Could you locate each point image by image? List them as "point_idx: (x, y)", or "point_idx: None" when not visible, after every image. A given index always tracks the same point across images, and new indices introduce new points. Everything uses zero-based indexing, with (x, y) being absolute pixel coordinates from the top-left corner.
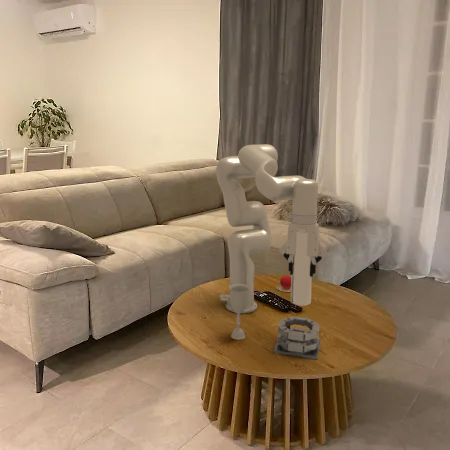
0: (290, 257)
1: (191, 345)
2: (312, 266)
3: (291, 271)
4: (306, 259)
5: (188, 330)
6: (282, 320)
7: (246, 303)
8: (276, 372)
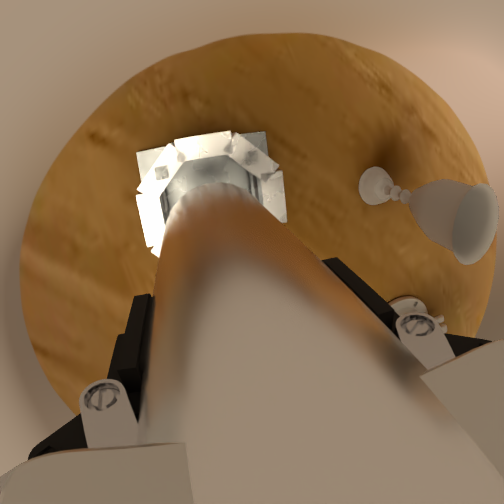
0: (435, 353)
1: (442, 105)
2: (123, 357)
3: (337, 269)
4: (185, 381)
5: (465, 170)
6: (278, 219)
7: (418, 213)
8: (224, 41)
